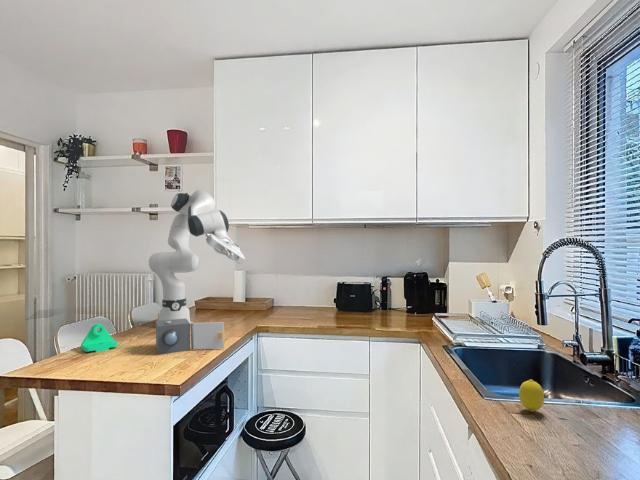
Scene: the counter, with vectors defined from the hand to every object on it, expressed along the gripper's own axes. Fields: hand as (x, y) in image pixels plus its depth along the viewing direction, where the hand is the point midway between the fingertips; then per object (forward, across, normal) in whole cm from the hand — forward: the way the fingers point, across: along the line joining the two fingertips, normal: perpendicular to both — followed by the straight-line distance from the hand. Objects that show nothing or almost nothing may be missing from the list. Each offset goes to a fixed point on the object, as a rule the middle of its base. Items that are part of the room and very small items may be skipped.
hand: (230, 256), depth 177 cm
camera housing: (+18, -2, +41) cm, 45 cm away
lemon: (+118, +29, -34) cm, 127 cm away
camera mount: (+4, -20, +61) cm, 65 cm away
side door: (+25, +6, +31) cm, 40 cm away
